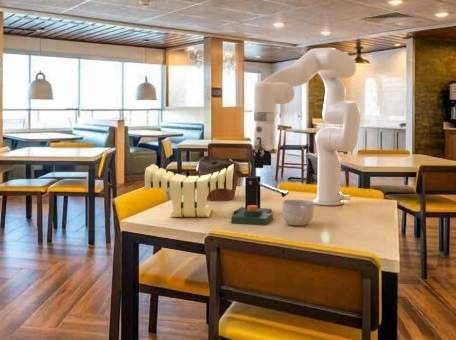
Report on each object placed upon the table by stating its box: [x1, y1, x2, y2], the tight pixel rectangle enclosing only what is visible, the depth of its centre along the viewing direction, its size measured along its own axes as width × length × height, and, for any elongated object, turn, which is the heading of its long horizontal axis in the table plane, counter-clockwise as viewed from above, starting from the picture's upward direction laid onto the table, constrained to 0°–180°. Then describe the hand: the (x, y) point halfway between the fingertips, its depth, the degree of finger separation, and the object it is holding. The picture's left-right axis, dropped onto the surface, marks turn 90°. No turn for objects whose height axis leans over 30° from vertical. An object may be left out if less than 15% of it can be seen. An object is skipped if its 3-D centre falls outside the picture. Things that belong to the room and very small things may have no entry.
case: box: [196, 155, 244, 202], centre depth 230 cm, size 18×20×18 cm
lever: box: [257, 179, 290, 198], centre depth 199 cm, size 15×5×2 cm, turn 80°
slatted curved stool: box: [144, 163, 234, 218], centre depth 197 cm, size 30×16×18 cm, turn 96°
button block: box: [230, 208, 274, 226], centre depth 188 cm, size 12×10×4 cm
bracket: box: [233, 175, 273, 216], centre depth 201 cm, size 12×9×14 cm
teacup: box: [282, 199, 315, 227], centre depth 182 cm, size 14×11×8 cm
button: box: [247, 205, 258, 211], centre depth 188 cm, size 4×4×2 cm
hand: (262, 166), depth 189 cm, fingers open, 9 cm apart
